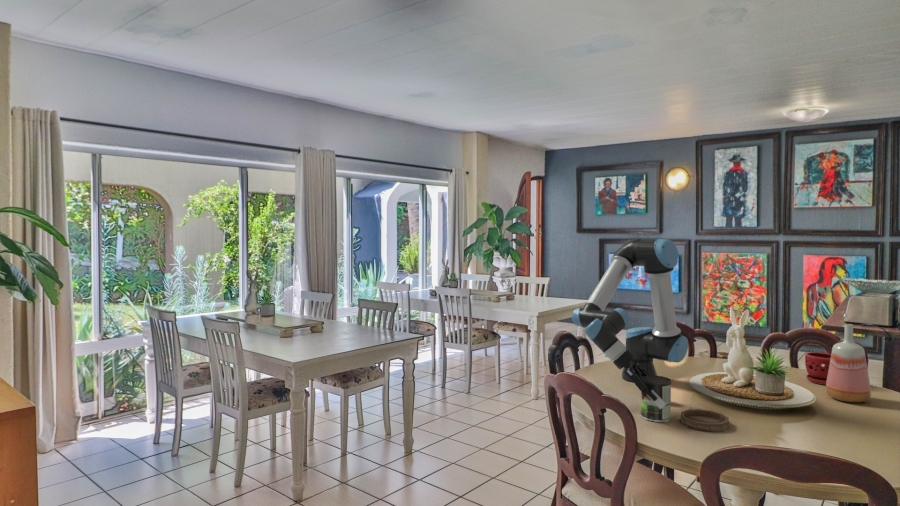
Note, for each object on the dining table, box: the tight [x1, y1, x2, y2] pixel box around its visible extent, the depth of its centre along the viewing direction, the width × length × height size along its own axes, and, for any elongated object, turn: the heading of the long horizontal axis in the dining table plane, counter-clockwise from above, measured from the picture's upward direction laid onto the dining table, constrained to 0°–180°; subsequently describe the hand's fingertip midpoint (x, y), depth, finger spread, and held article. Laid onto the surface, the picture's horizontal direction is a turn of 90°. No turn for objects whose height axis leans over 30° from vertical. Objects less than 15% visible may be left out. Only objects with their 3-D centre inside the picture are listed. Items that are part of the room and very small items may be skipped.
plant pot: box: [804, 351, 831, 386], centre depth 243 cm, size 13×13×12 cm
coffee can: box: [640, 375, 672, 423], centre depth 202 cm, size 10×10×14 cm
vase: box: [825, 323, 872, 404], centre depth 219 cm, size 14×14×30 cm
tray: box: [680, 408, 730, 433], centre depth 196 cm, size 15×15×3 cm
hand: (664, 402), depth 201 cm, fingers closed on coffee can, 10 cm apart
